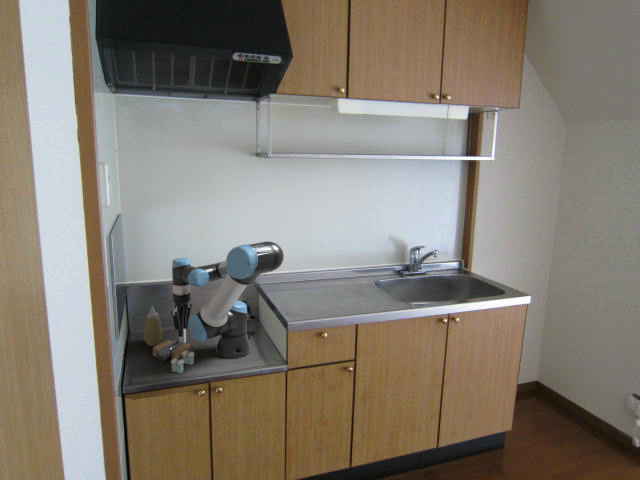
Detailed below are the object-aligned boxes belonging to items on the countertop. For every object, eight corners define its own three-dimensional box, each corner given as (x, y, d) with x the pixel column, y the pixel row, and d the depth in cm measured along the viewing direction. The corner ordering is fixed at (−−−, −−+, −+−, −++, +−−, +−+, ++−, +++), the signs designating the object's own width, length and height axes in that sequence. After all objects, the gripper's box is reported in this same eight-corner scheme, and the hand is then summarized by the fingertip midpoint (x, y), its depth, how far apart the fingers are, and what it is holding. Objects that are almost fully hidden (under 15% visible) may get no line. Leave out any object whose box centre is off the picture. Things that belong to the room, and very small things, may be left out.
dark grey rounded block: (171, 349, 199) (172, 339, 198) (181, 352, 198) (182, 342, 197) (155, 359, 189) (156, 349, 188) (165, 363, 188) (166, 352, 186)
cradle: (184, 361, 189) (184, 350, 188) (194, 363, 188) (194, 351, 187) (171, 371, 180) (170, 359, 179) (181, 373, 179) (181, 361, 178)
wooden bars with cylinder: (190, 351, 198) (190, 344, 197) (177, 360, 189) (177, 352, 189) (166, 346, 202) (166, 339, 201) (153, 355, 193) (152, 348, 192)
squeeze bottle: (156, 348, 199) (155, 310, 196) (140, 346, 201) (138, 308, 197) (166, 341, 207) (165, 304, 204) (150, 339, 209) (149, 302, 205)
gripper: (183, 287, 205) (183, 335, 210) (165, 295, 193) (166, 346, 198) (197, 289, 203) (197, 338, 208) (180, 298, 191) (181, 349, 195)
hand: (182, 342), depth 203 cm, fingers closed
